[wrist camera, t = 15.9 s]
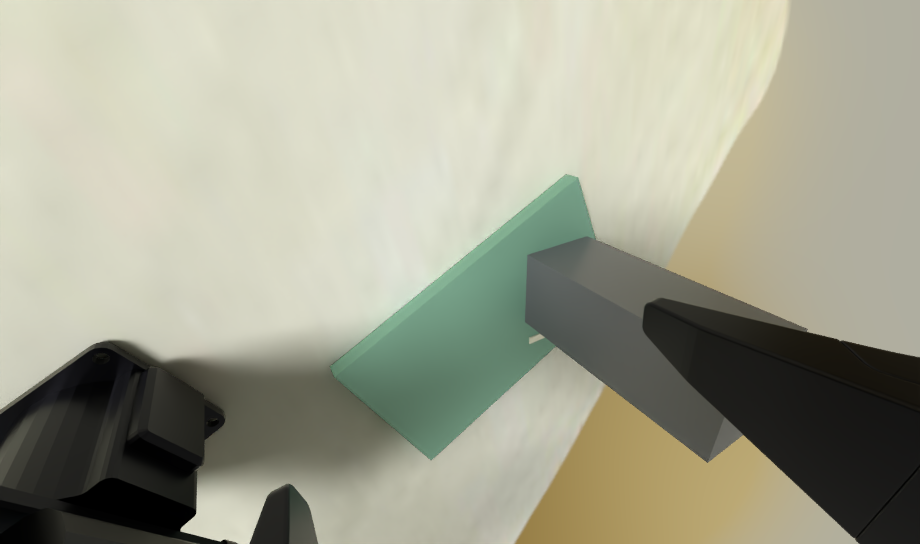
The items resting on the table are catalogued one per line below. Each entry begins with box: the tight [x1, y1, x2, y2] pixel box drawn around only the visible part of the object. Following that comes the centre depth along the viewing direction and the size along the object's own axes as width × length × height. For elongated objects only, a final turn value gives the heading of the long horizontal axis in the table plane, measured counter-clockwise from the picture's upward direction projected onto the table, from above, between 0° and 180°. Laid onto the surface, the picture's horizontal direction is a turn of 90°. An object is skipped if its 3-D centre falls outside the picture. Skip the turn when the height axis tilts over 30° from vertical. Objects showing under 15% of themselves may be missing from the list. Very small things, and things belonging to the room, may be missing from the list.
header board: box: [330, 174, 596, 460], centre depth 25 cm, size 18×11×4 cm, turn 118°
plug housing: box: [525, 236, 808, 463], centre depth 22 cm, size 5×5×12 cm
